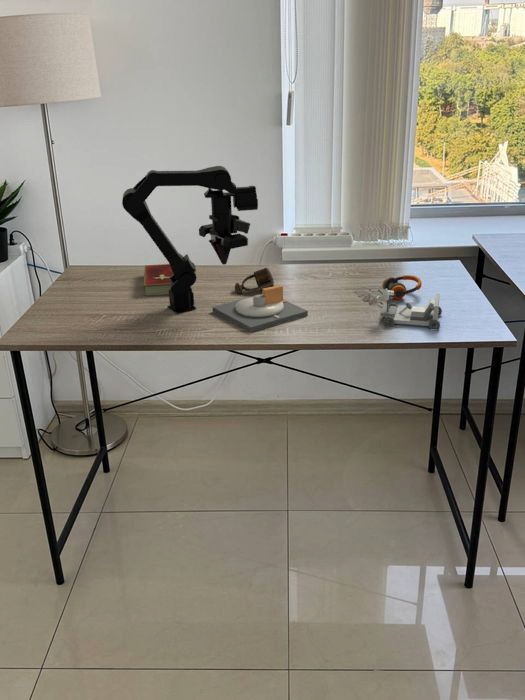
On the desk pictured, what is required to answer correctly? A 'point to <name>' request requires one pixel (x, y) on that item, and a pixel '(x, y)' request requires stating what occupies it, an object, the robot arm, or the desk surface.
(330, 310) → the desk surface
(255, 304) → the dial
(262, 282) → the brown curved looped piece
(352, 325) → the desk surface
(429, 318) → the toy car
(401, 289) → the headphones
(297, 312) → the dial board
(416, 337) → the desk surface
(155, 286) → the hardcover book
